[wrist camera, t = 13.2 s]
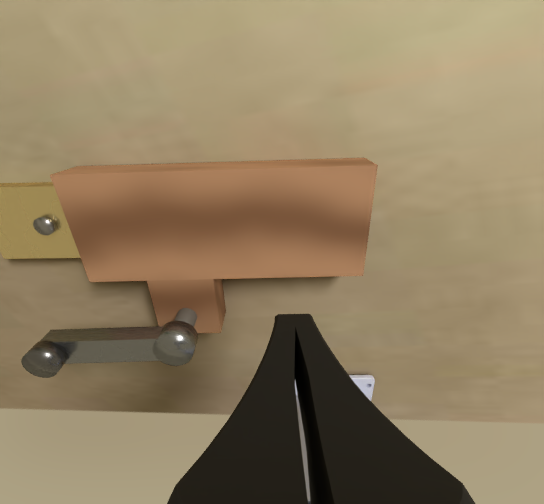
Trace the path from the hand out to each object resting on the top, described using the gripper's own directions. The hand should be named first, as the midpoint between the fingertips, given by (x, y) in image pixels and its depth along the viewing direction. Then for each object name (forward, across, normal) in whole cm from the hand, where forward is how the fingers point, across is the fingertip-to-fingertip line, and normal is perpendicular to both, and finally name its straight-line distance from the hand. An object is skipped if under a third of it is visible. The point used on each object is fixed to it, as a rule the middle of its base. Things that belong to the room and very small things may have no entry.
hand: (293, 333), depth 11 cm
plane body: (+10, +4, +1) cm, 11 cm away
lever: (+6, +11, +5) cm, 13 cm away
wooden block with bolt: (+10, +16, -2) cm, 20 cm away
